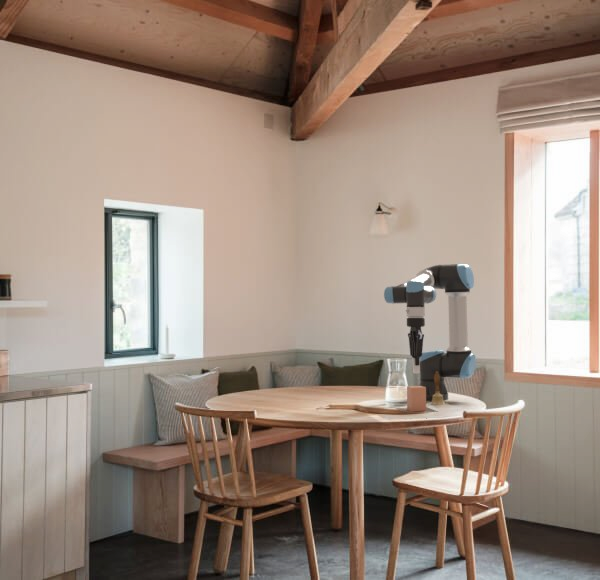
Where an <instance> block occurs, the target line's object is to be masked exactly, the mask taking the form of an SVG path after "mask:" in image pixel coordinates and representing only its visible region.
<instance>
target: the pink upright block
mask: <svg viewBox="0 0 600 580" xmlns="http://www.w3.org/2000/svg"><path fill="white" fill-rule="evenodd" d="M426 407H427V400H426V387H423V386H419V385H407V386H406V408H407V409H408V410H410V411H426Z"/></svg>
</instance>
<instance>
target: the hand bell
mask: <svg viewBox="0 0 600 580" xmlns="http://www.w3.org/2000/svg"><path fill="white" fill-rule="evenodd" d="M434 382H435V385H436V393H435V394H434V395H433V397H432V400H431V402H430V405H435V406H441V405H442V406H443V405H445V404H446V403H445V401H444V400H443V395H441V394H440V392H439V383H440V376H439V373H438V371H436V372H435V375H434Z"/></svg>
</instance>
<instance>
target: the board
mask: <svg viewBox="0 0 600 580" xmlns="http://www.w3.org/2000/svg"><path fill="white" fill-rule="evenodd" d="M395 409H396V410H399V411H401V412H403V413H405V414H414V413H415V414H417V413H418V414H419V413H435V412H436V413H437V412H438V413H439V411H438V410H435V409H433V408H430V407H428V406H426V411H410V410H408V409H407V407H401V408H400V407H397V408H395Z"/></svg>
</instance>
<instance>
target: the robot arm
mask: <svg viewBox="0 0 600 580" xmlns="http://www.w3.org/2000/svg"><path fill="white" fill-rule="evenodd" d="M474 277H475V276H474V273H473V271H472V268H471V266H470V265H468V264H465V263H457V264H456V263H455V264H454V263H453V264H435V265H432V266H430V267H427V268H424V269H422V270H420V271H418V273H417V274H416V275H415V276H414V277H412V278H410V279H408V280H406V281H404V282H402V283H400V284H398V285H396V286H392V285H391V286H387V287H385V289H384V291H383V297H384V301H385V303H387V304H393V305H394V304H406V309H405V312H406V326H407V327H408V328H410V329H409V333H407V336H408V344H409V345H408V346H409V354H410V356H411V360H412V361H411V362H412V374H419V385H418V386H423V387H426V401H432V397H433V395H434V394H435V393H436V385H435V382H434V375H435V372H436V371H438V373H439V376H440V383H439V392H440V394H441V395H443V400H448V399H449V392H448V389H447V387H446V384H445V383H446V382H445V378H451V379H452V378H454V379H470V378H471V377H472V376H473V375H474V374H475V370H476V366H477V365H476V364H477V357H476V354H474V353H472V349H471V348H470V347H469V340H468V303H467V301H468V299H467V296H468V295H469V294H470V293H471V292H470V291H471V289H473V287H474V284H475V278H474ZM436 290H444V293H445V295H446V296H447V297H448V299H447V300H448V331H449V332H448V333H449V334H448V337H449V338H448V339H449V340H448V341H449V345H448V347H447V349H445V350H446V352H445V351H444V349H441V350H440V349H438V350H429V351H424V352H423V347H424V346H423V345H424V338H425V334H423V332H422V328H423V327H425V325H426V324H425V323H426V321H425V318H424V317H425V316H426V315H425V314H426V313H425V312H426V311H425V310H426V309H425V304H430V303H432V302H434V301H435V300H436V298H437V291H436Z"/></svg>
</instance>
